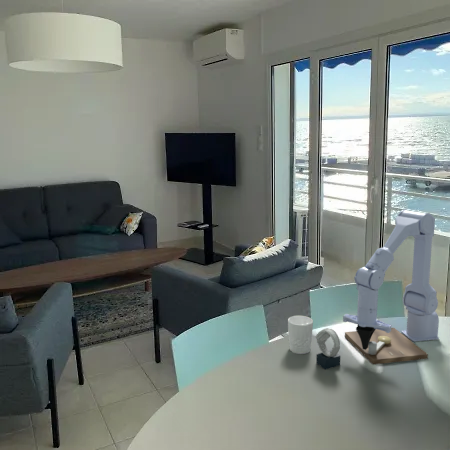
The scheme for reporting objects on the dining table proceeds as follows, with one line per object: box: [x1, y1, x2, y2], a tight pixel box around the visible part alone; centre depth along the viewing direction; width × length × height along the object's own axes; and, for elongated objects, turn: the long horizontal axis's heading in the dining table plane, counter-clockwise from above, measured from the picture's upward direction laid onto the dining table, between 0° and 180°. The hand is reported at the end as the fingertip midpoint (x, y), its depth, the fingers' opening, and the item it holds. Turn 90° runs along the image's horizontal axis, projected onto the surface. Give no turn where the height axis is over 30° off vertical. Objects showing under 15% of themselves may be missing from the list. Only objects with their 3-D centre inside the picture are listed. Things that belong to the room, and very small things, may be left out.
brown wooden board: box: [344, 327, 429, 365], centre depth 152 cm, size 18×20×2 cm
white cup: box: [287, 315, 314, 355], centre depth 151 cm, size 8×8×10 cm
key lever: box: [368, 336, 391, 355], centre depth 148 cm, size 13×4×3 cm, turn 141°
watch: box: [315, 328, 341, 370], centre depth 141 cm, size 6×8×11 cm
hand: (365, 348), depth 146 cm, fingers closed
